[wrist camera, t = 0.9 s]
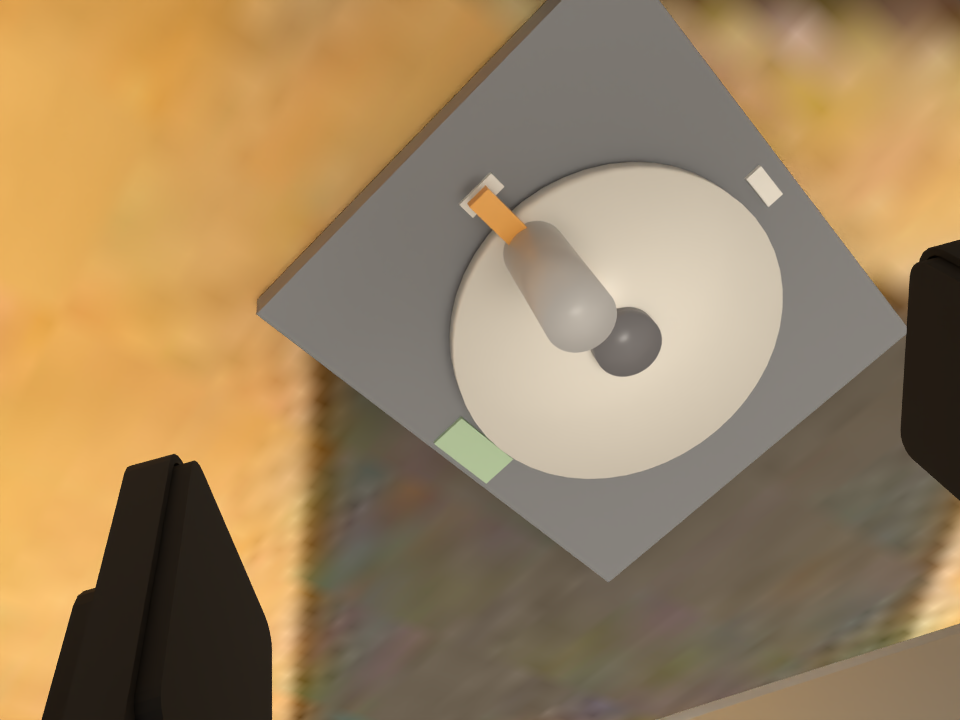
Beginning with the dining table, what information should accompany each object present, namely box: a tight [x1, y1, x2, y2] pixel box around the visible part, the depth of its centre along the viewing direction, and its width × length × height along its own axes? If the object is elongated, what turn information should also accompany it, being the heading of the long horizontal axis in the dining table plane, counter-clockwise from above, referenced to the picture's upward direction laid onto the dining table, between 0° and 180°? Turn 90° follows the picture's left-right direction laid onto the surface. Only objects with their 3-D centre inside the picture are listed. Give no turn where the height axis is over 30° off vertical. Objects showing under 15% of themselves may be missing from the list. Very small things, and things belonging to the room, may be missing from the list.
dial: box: [449, 162, 783, 479], centre depth 36 cm, size 17×15×8 cm
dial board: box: [257, 0, 907, 582], centre depth 41 cm, size 20×24×2 cm
